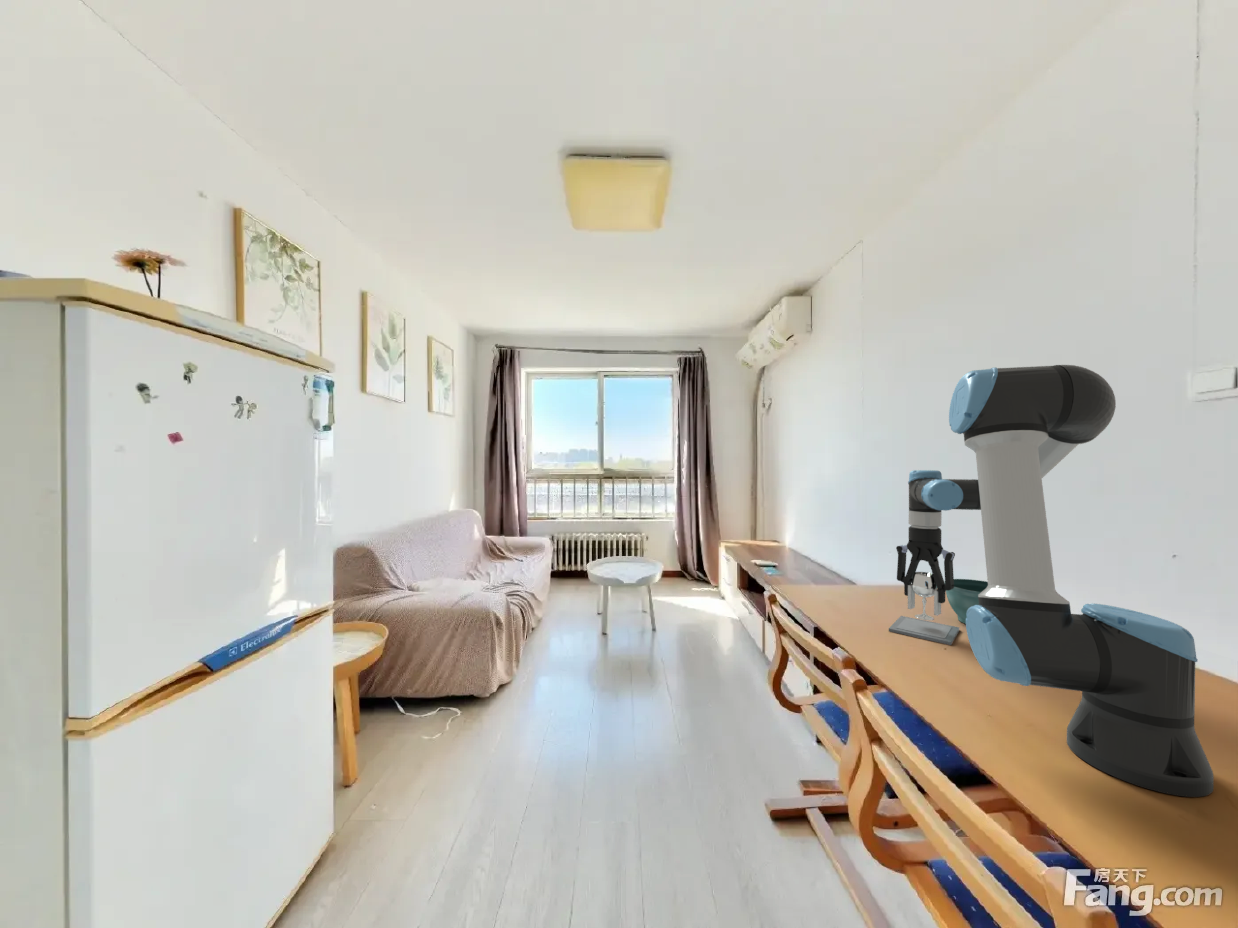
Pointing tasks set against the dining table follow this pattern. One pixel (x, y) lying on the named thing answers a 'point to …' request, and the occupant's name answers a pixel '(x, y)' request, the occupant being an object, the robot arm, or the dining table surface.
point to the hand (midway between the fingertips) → (924, 610)
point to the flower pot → (965, 596)
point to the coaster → (925, 630)
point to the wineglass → (924, 590)
